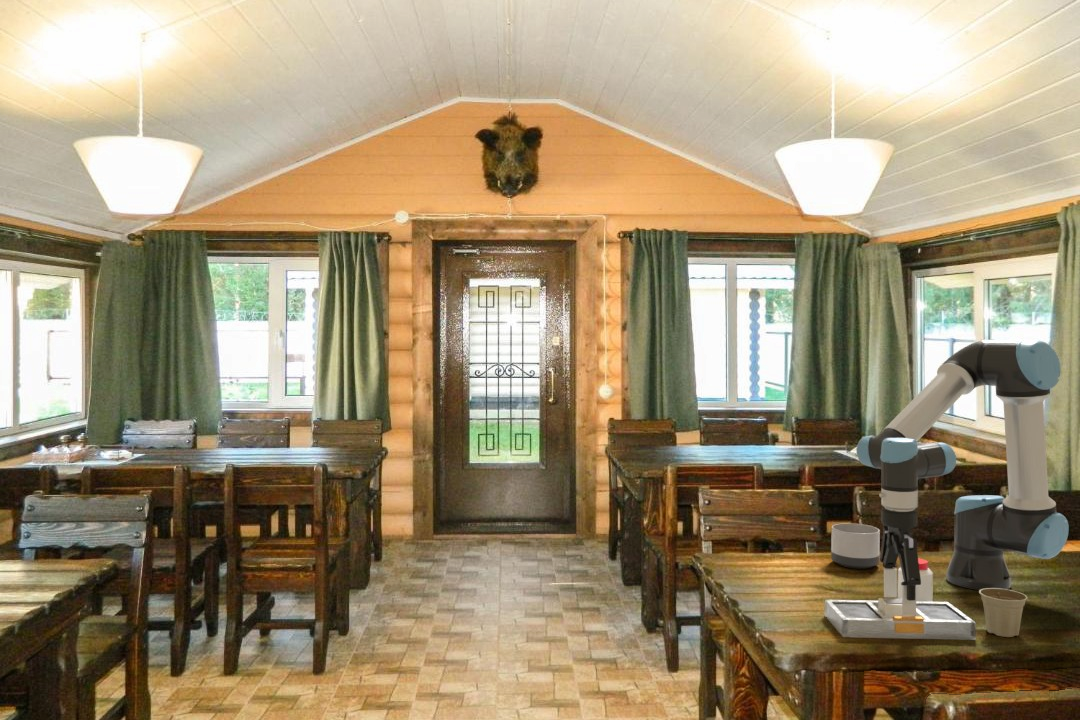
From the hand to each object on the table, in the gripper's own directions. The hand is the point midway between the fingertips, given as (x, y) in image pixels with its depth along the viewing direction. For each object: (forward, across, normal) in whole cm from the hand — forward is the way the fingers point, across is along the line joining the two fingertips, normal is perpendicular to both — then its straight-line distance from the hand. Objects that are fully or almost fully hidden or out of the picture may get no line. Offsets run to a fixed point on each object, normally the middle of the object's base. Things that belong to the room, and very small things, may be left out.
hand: (899, 604), depth 191 cm
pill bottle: (+6, -16, +9) cm, 19 cm away
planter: (+6, -52, +6) cm, 52 cm away
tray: (+5, 0, -1) cm, 5 cm away
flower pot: (+6, +2, +21) cm, 22 cm away
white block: (+4, 0, -1) cm, 4 cm away
